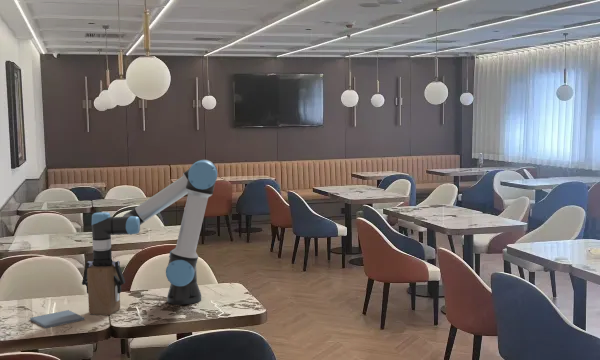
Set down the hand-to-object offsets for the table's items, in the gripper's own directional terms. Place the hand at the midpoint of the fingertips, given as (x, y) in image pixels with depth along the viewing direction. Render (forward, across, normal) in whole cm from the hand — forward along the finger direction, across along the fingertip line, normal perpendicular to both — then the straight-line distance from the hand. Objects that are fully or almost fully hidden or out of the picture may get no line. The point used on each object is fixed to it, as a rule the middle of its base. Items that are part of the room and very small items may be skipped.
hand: (104, 300), depth 281 cm
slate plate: (+5, +16, +11) cm, 20 cm away
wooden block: (+5, 0, 0) cm, 5 cm away
